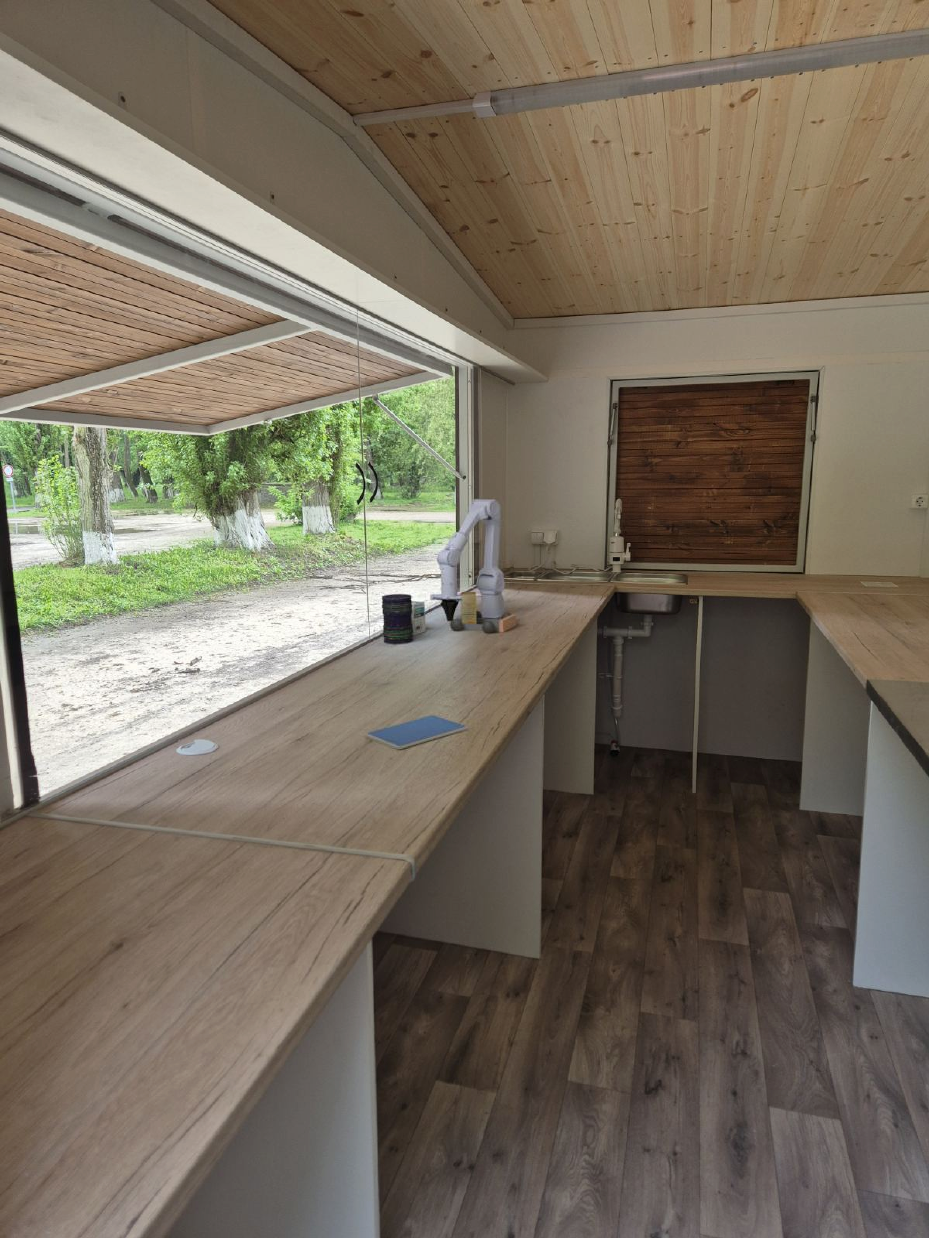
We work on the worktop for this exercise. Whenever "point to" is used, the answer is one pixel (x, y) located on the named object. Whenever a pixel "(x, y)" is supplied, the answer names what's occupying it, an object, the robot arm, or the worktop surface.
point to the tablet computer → (415, 732)
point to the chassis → (486, 624)
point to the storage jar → (397, 619)
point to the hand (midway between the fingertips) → (450, 620)
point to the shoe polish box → (468, 607)
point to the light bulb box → (418, 617)
